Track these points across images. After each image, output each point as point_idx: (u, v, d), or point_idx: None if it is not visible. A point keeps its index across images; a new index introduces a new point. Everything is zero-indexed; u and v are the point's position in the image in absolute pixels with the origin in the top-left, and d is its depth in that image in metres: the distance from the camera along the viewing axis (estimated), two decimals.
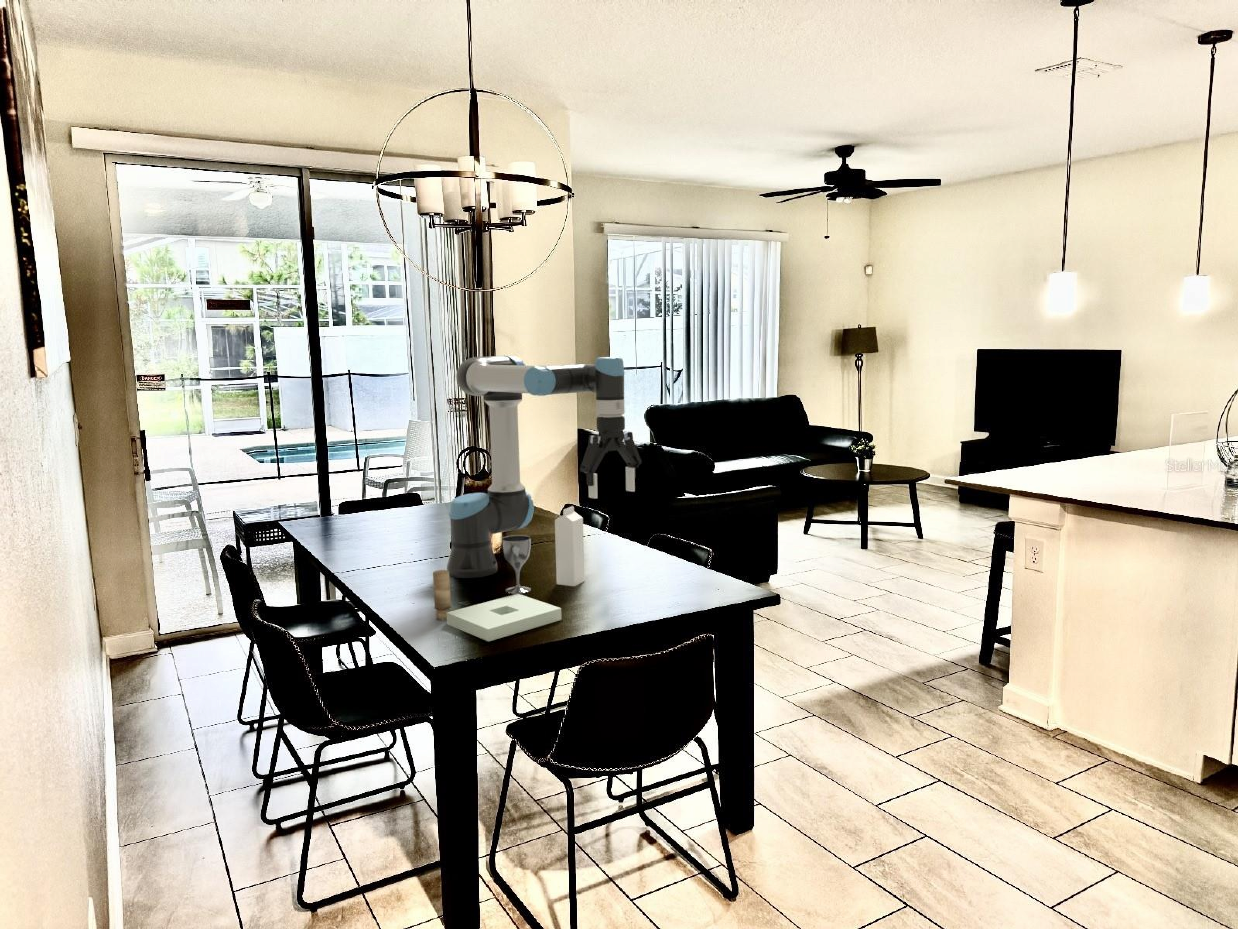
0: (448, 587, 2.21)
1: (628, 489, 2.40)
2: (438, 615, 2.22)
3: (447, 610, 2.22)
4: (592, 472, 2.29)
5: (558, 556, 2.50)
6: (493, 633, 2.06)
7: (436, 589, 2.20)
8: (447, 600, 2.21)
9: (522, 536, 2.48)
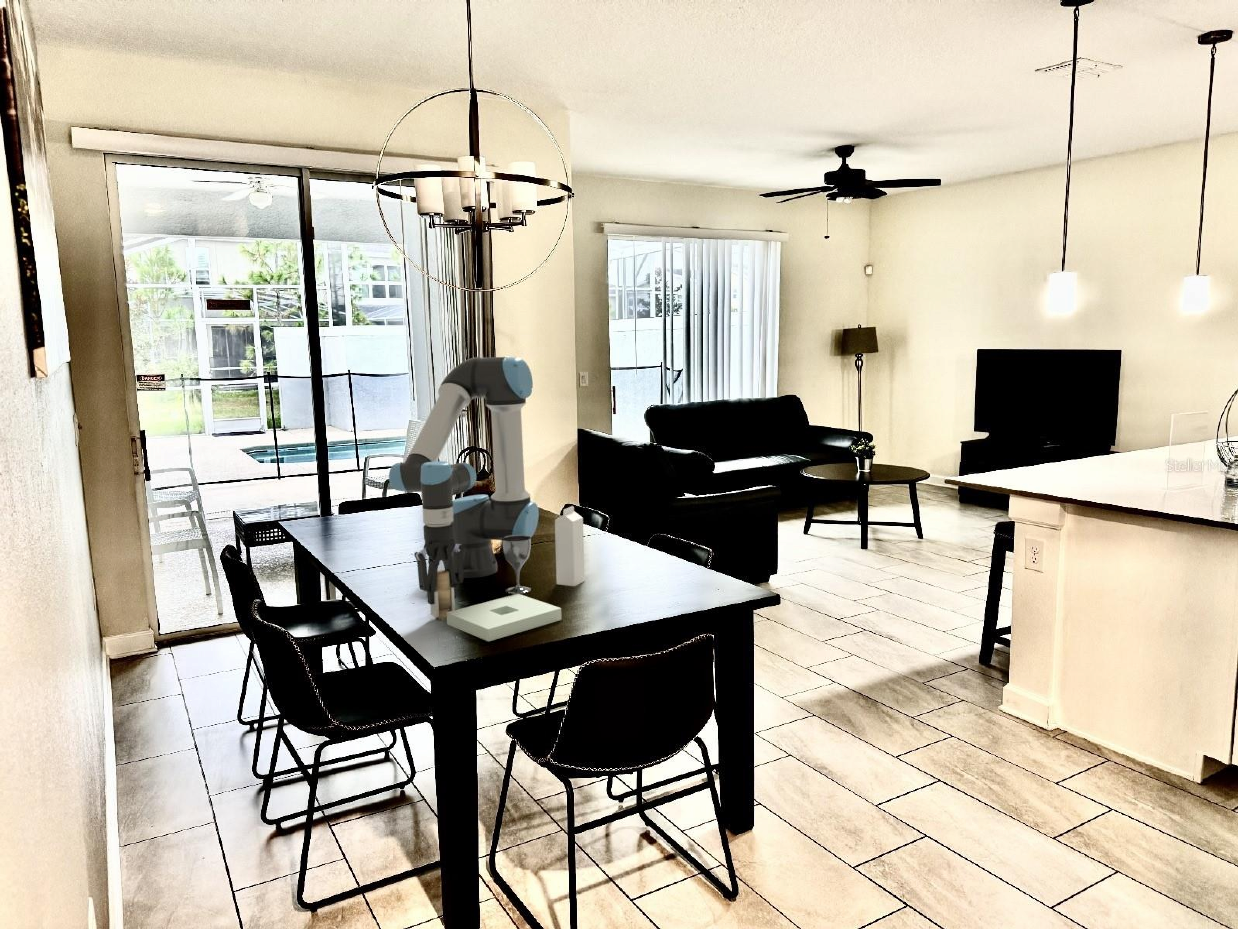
0: (448, 587, 2.21)
1: None
2: None
3: (447, 610, 2.22)
4: (432, 591, 2.19)
5: (558, 556, 2.50)
6: (493, 633, 2.06)
7: (436, 589, 2.20)
8: (447, 600, 2.21)
9: (522, 536, 2.48)
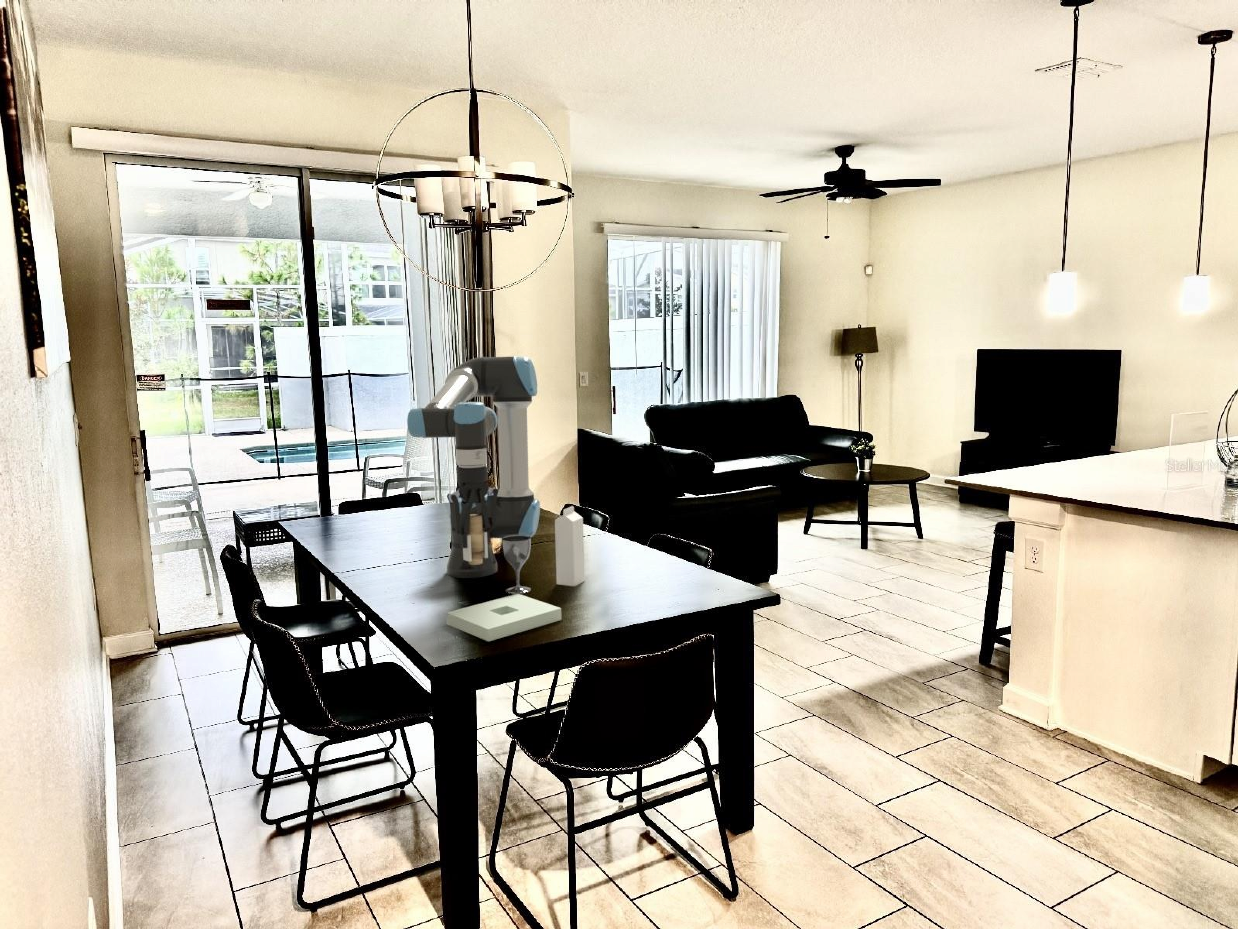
0: (481, 531, 2.16)
1: None
2: None
3: (480, 555, 2.17)
4: (465, 534, 2.14)
5: (558, 556, 2.50)
6: (493, 633, 2.06)
7: (469, 532, 2.15)
8: (479, 545, 2.16)
9: (522, 536, 2.48)
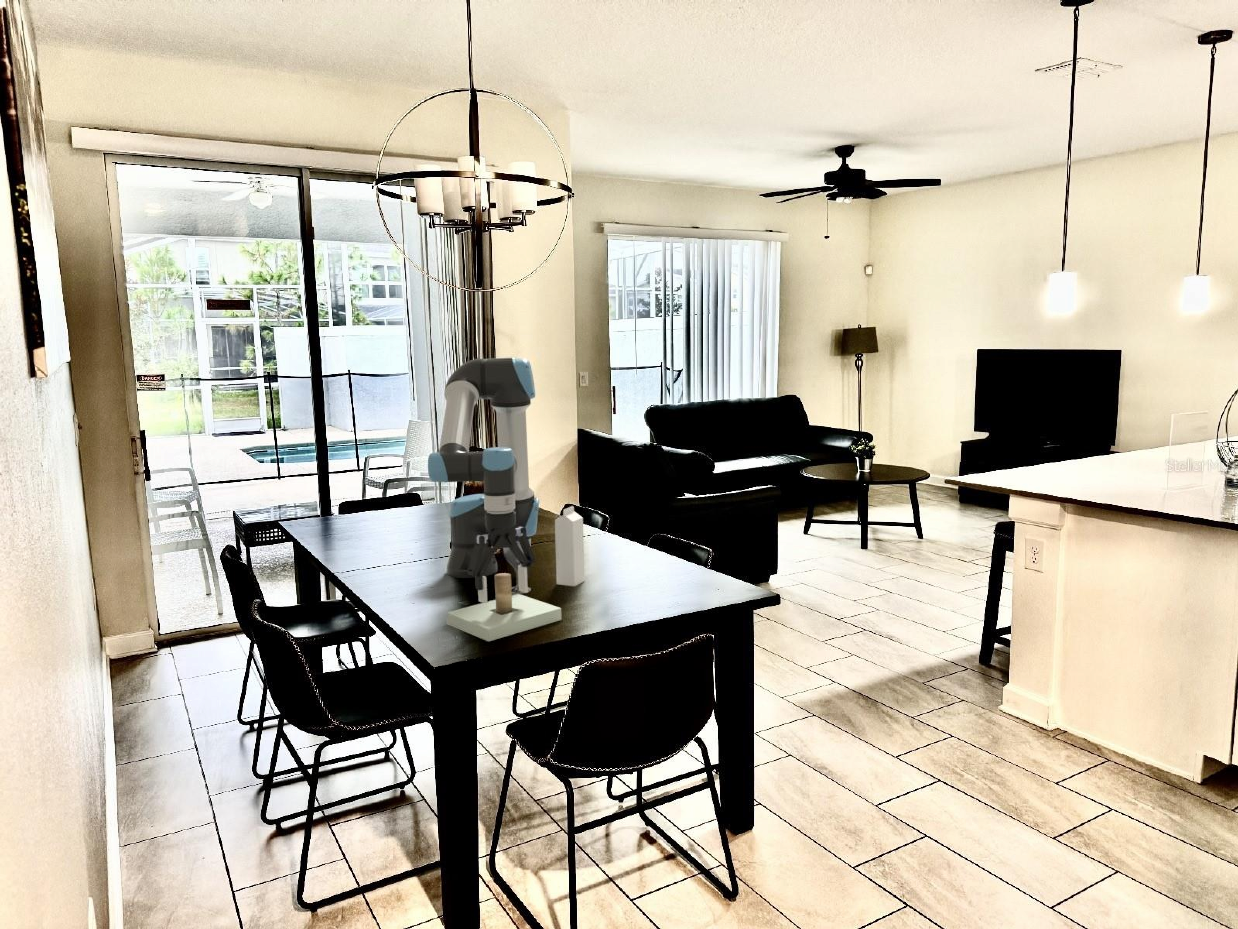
0: (510, 591, 2.17)
1: (521, 589, 2.22)
2: None
3: None
4: (480, 576, 2.11)
5: (558, 556, 2.50)
6: (493, 633, 2.06)
7: (498, 592, 2.16)
8: (509, 604, 2.17)
9: None
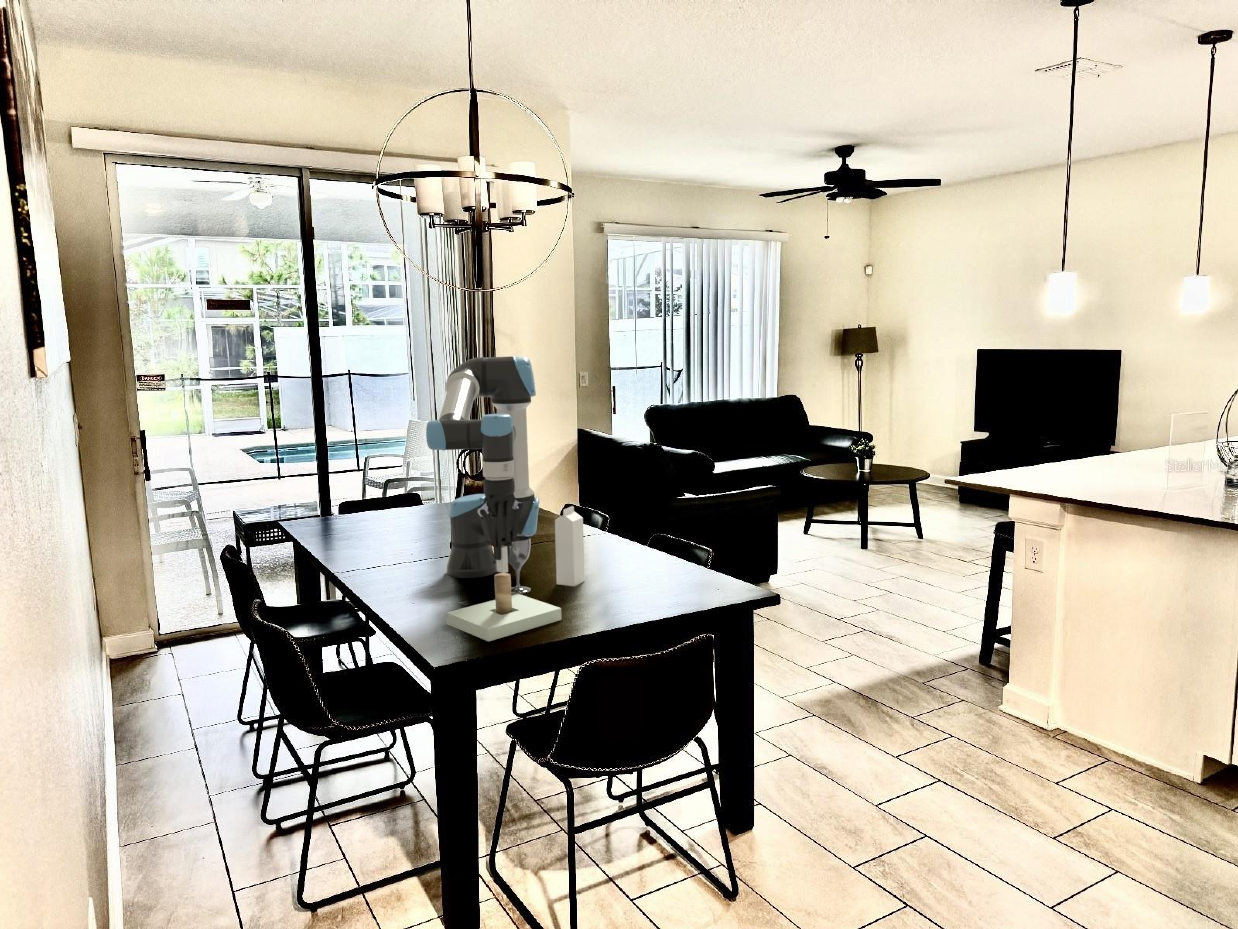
0: (510, 590, 2.17)
1: None
2: None
3: None
4: (499, 546, 2.14)
5: (558, 556, 2.50)
6: (493, 633, 2.06)
7: (498, 592, 2.16)
8: (508, 604, 2.17)
9: (522, 536, 2.48)
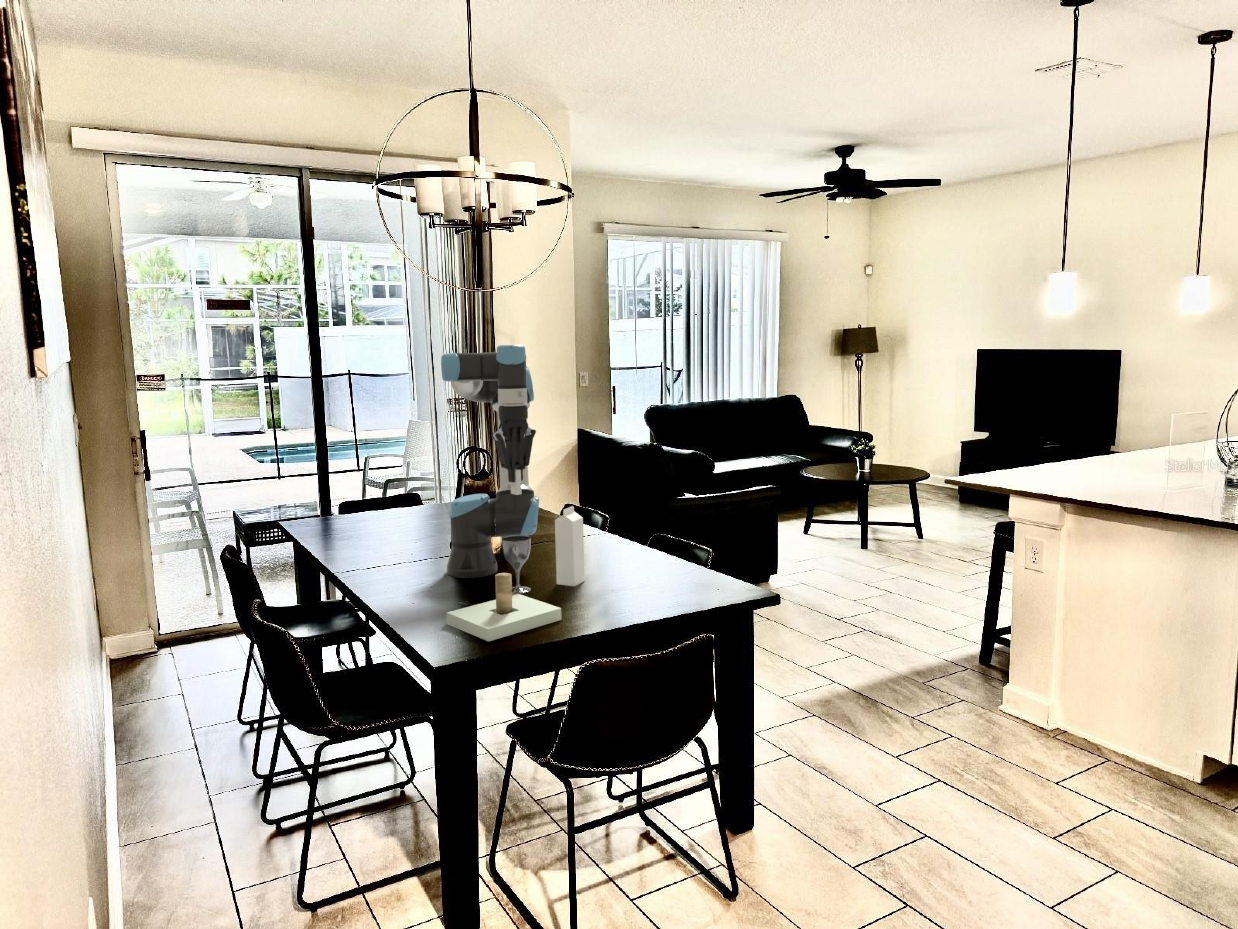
0: (510, 590, 2.17)
1: None
2: None
3: None
4: (514, 468, 2.29)
5: (558, 556, 2.50)
6: (493, 633, 2.06)
7: (498, 592, 2.16)
8: (509, 604, 2.17)
9: (522, 536, 2.48)
